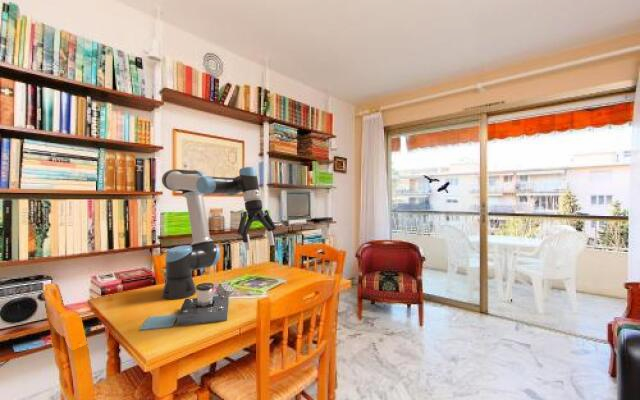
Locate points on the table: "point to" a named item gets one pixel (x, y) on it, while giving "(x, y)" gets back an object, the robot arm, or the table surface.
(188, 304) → the housing
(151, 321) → the mat
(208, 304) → the silver cylinder
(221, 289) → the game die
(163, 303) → the table surface
